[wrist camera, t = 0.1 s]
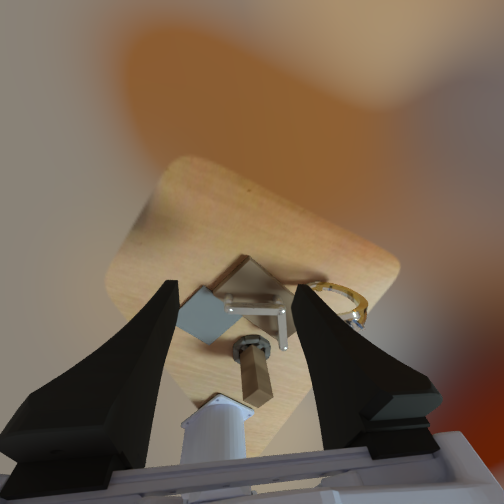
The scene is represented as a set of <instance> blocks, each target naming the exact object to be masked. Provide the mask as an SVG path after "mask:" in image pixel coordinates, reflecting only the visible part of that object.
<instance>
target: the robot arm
mask: <svg viewBox="0 0 504 504" xmlns="http://www.w3.org/2000/svg"><path fill="white" fill-rule="evenodd" d="M179 307H180V302H179V289H178V280H166V281H165V282H164V283H163V284H162V286H161V287H160V288H159V290H158V291H157V292H156V293H155V294H154V296H153V297H152V298H151V299H150V300H149V301H148V303H147V304H146V305H145V306H144V307H143V308H142V309H141V310H140V311H139V312H138V313H137V314H136V315H135V316H134V317H133V318H132V319H131V320H130V321H129V322H128V323H127V324H126V325H125V326H124V327H123V328H122V329H121V330H120V331H119V332H117V333H116V334H115V335H114V336H113V337H112V338H110V339H109V340H108V341H107V342H106V343H104V344H103V345H102V346H101V347H100V348H98V349H97V350H96V351H94V352H93V353H92V354H90V355H89V356H87V357H86V358H85V359H83V360H82V361H80V362H79V363H78V364H76V365H75V366H73V367H72V368H70V369H69V370H68V371H66V372H65V373H63V374H62V375H60V376H58V377H57V378H55V379H54V380H52V381H51V382H49V383H47V384H46V385H44V386H43V387H41V388H39V389H38V390H36V391H34V392H33V393H31V394H30V395H29V396H28V397H27V398H26V400H25V401H24V402H23V403H22V404H21V406H20V407H19V408H18V410H17V411H16V413H15V414H14V415H13V417H12V418H11V420H10V421H9V422H8V424H7V425H6V427H5V428H4V430H3V431H2V433H1V434H0V452H1V453H3V454H4V455H6V456H8V457H9V458H11V459H12V460H14V461H16V462H17V465H16V467H15V468H14V470H13V472H12V473H11V475H5V474H0V504H504V490H503V489H502V487H501V486H500V484H499V483H498V482H497V480H496V479H495V478H494V476H493V475H492V474H491V472H490V471H489V470H488V468H487V467H486V466H485V464H484V463H483V461H482V460H481V459H480V457H479V456H478V455H477V453H476V452H475V451H474V449H473V448H472V446H471V445H470V444H469V443H468V441H467V440H466V439H465V437H464V436H463V434H462V433H461V432H459V431H454V432H444V433H437V434H434V435H432V434H431V433H430V431H429V430H428V428H427V427H430V423H429V422H428V420H427V419H426V417H425V416H426V415H427V414H429V413H430V412H431V411H433V410H434V409H436V408H437V407H438V406H439V405H440V404H441V403H442V396H441V394H440V393H439V392H438V391H437V389H436V388H435V386H434V385H433V384H432V382H431V381H430V380H429V378H428V377H427V376H425V375H423V374H421V373H420V372H418V371H416V370H414V369H412V368H411V367H409V366H407V365H405V364H403V363H402V362H400V361H398V360H397V359H395V358H394V357H392V356H390V355H388V354H387V353H386V352H384V351H382V350H381V349H380V348H378V347H377V346H375V345H374V344H372V343H371V342H370V341H368V340H367V339H365V338H364V337H363V336H361V335H360V334H359V333H358V332H356V331H355V330H354V329H353V328H351V327H350V326H349V325H348V324H347V323H346V322H345V321H343V320H342V319H341V318H340V317H339V316H338V315H337V314H336V313H335V312H334V311H333V310H332V309H331V308H330V307H329V306H328V305H327V304H326V303H325V302H324V301H323V300H322V299H321V298H320V297H319V296H318V295H317V294H316V293H315V292H314V291H313V290H312V289H311V288H310V287H309V286H308V285H306V284H298V286H297V289H296V292H295V295H294V298H293V301H292V304H291V312H292V317H293V322H294V325H295V328H296V331H297V334H298V337H299V340H300V343H301V346H302V349H303V352H304V355H305V358H306V361H307V364H308V369H309V373H310V377H311V381H312V386H313V391H314V395H315V400H316V405H317V411H318V416H319V422H320V428H321V435H322V441H323V448H324V451H314V452H303V453H293V454H283V455H273V456H263V457H253V458H246V447H245V433H244V421H245V420H247V419H248V418H249V417H251V416H252V415H253V414H254V410H252V409H250V408H248V407H246V406H244V405H242V404H240V403H238V402H236V401H234V400H232V399H230V398H228V397H226V396H224V395H222V394H218V395H217V396H215V397H214V398H213V399H211V400H210V401H209V402H208V403H206V404H205V405H204V406H203V407H201V408H200V409H199V410H197V411H196V412H195V413H194V414H192V415H191V416H190V417H189V418H187V419H186V420H185V421H184V422H182V423H181V427H182V428H184V429H185V433H184V440H183V447H182V454H181V460H180V465H171V466H162V467H151V468H144V467H145V463H146V457H147V452H148V446H149V440H150V434H151V428H152V422H153V417H154V411H155V406H156V401H157V396H158V390H159V386H160V381H161V376H162V371H163V367H164V363H165V359H166V356H167V353H168V349H169V346H170V343H171V340H172V336H173V333H174V330H175V326H176V323H177V318H178V313H179ZM327 476H330V477H327ZM319 477H327V478H323V479H322V480H321V483H320V484H319V485H318V486H316V487H315V488H307V489H295V490H284V491H276V492H268V493H261V494H257V492H256V491H255V490H254V491H251V486H252V485H260V484H269V483H276V482H285V481H293V480H301V479H310V478H319ZM176 494H181V496H182V497H175V496H168V495H176Z"/></svg>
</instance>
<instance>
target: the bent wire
mask: <svg viewBox="0 0 504 504" xmlns="http://www.w3.org/2000/svg"><path fill="white" fill-rule="evenodd" d="M272 300H273V303H246V302H233V295H232V294H231V293H226V294H225V295H224V311H225V312H226V313H228V314H238V315H276V317H277V329H278V331H277V332H276V337H277V341H278V344H279V349H280V350H281V351H286V350H287V349H288V342H287V326H286V307H285V306H284V305H283V302H282V300H281V297H280V296H279V295H274V296H273V298H272Z"/></svg>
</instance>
